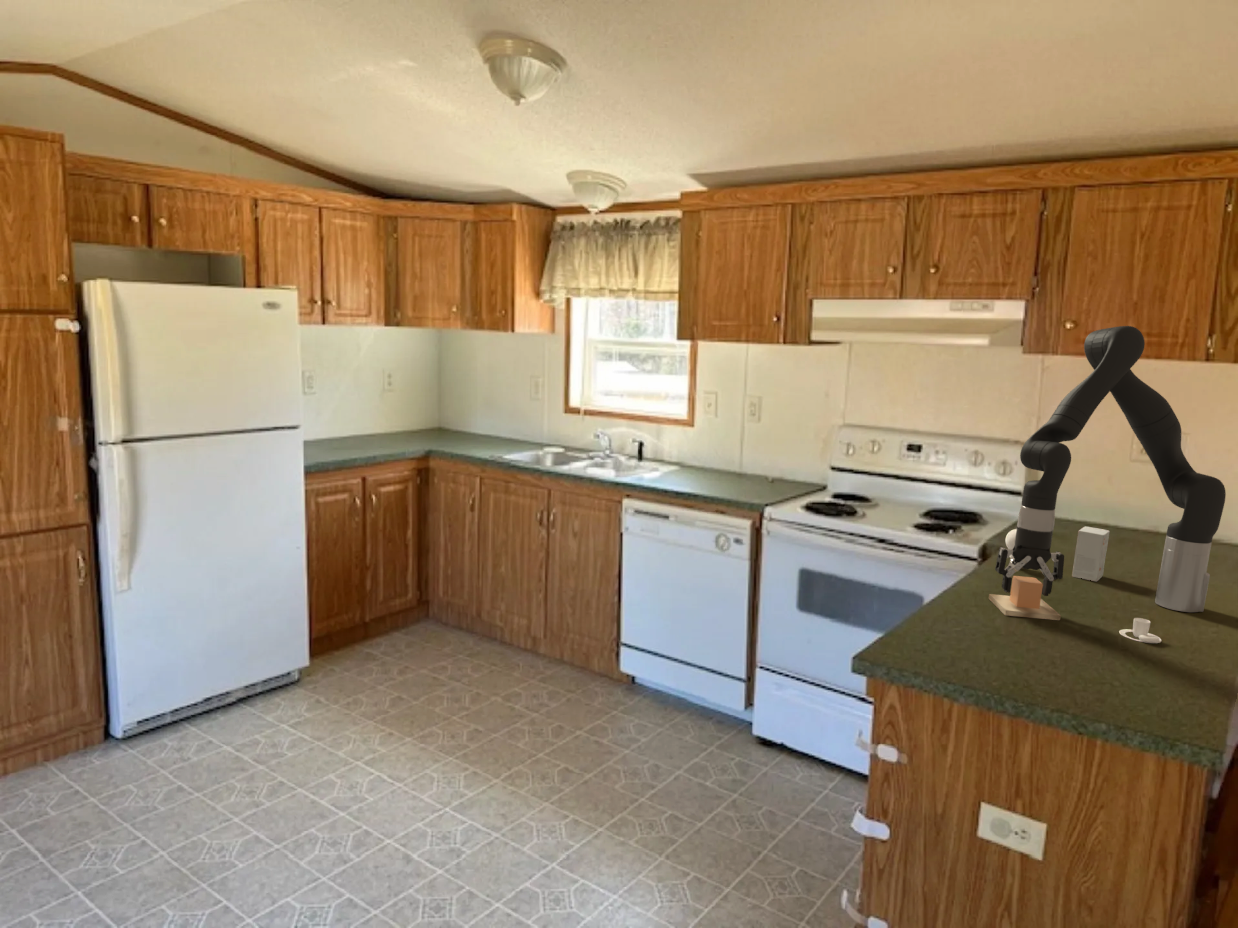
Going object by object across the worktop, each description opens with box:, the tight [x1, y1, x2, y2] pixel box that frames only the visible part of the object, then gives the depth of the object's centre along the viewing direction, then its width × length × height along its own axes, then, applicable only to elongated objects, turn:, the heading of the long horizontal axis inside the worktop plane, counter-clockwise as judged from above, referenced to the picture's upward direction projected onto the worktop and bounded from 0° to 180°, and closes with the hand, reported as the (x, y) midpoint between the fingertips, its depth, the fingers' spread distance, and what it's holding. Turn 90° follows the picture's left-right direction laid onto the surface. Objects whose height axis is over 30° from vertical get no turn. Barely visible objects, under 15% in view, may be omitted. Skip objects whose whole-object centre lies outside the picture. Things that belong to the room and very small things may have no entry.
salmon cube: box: [1009, 575, 1043, 609], centre depth 196 cm, size 5×5×6 cm
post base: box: [988, 593, 1062, 621], centre depth 196 cm, size 12×12×5 cm
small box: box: [1071, 526, 1111, 582], centre depth 228 cm, size 8×6×13 cm
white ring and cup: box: [1118, 617, 1162, 644], centre depth 182 cm, size 9×8×4 cm
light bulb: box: [1005, 528, 1017, 563], centre depth 233 cm, size 7×7×11 cm
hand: (1025, 593), depth 196 cm, fingers open, 8 cm apart
